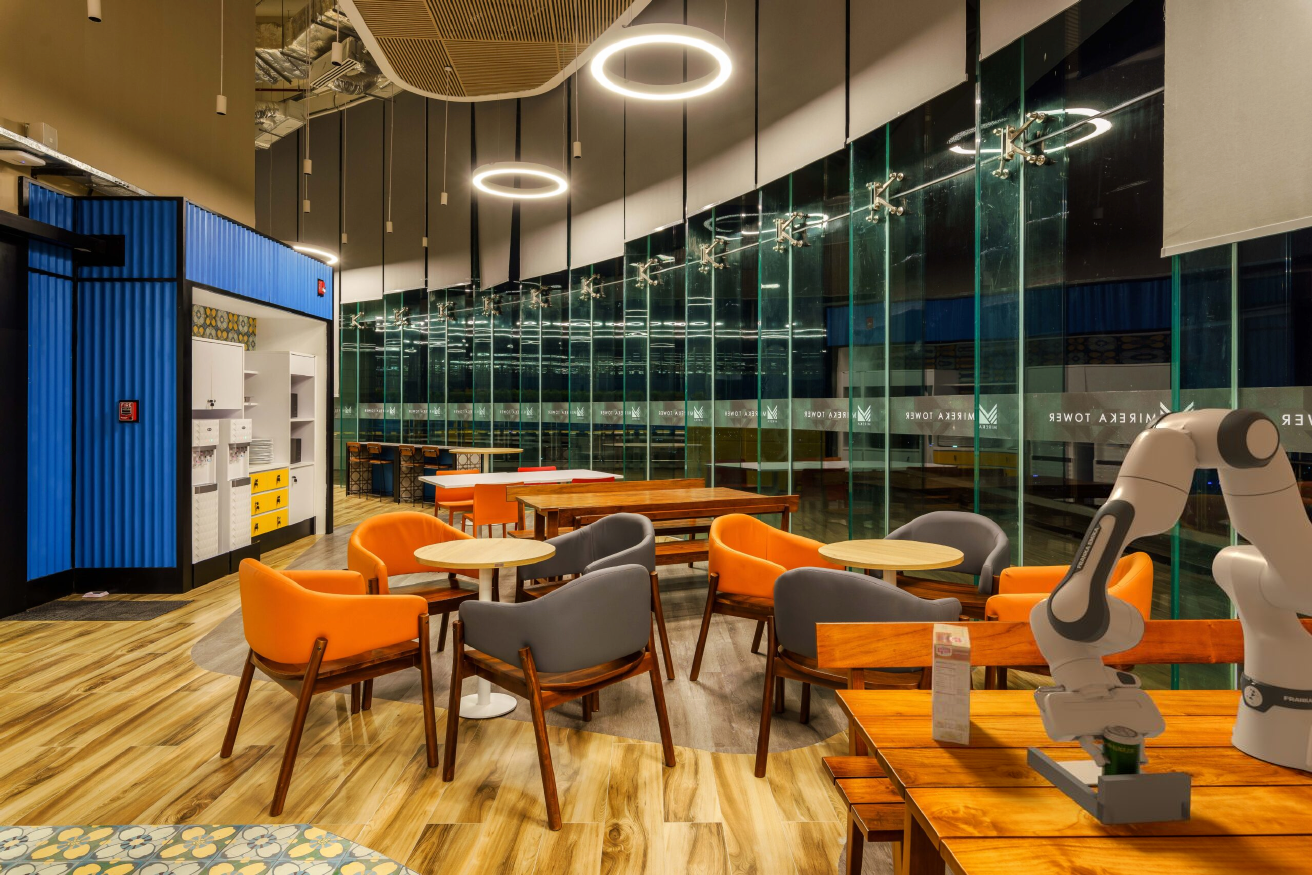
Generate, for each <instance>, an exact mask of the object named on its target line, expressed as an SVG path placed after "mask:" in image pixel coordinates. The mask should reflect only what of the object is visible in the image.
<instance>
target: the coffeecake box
mask: <svg viewBox="0 0 1312 875" xmlns="http://www.w3.org/2000/svg"><path fill="white" fill-rule="evenodd" d="M971 647H972V646H971V641H970V634H969V629H968V626H960V625H952V624H946V623H933V632H932V664H931V666H932V668H931V669H932V671H931V672H932V673H931V733H932V734H931V736H932V737H931V738H932V740H934V741H940V742H947V743H955V744H960V745H966V746H969V745H970V718H971V716H970V714H971V713H970V711H971V710H970V708H971V704H970V703H971V655H972V654H971V652H972V651H971V649H972V648H971Z"/></svg>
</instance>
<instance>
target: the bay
mask: <svg viewBox="0 0 1312 875" xmlns="http://www.w3.org/2000/svg"><path fill="white" fill-rule="evenodd" d="M1094 745H1095V746H1096V747H1097V748H1098V749H1099V750H1100V752H1101V753H1102V743H1101V744H1100V743H1099V744H1098V743H1097V744H1094ZM1092 759H1093V758H1092ZM1092 759H1091V760H1090V759H1089V760H1087V759H1086V760H1070V761H1069V760H1067V761H1066V760H1065V761H1064V760H1063V761H1055V760H1053V759H1052V758H1051V757H1050V756H1048V755H1047V754H1045V753H1044V752H1043V751H1041V750H1040V749H1038V748H1037V747H1036V746H1033V747H1032V746H1030V747H1028V746H1027V747H1026V764H1027V765H1028V766H1030V767H1031V768H1032V769H1033V770H1034V771H1036V772H1037V773H1038V774H1040V775H1041V776H1042V777H1043V778H1044V779H1046V780H1047V781H1048V782H1050V783H1051V784H1052V785H1054V787H1056V788H1057V789H1058V790H1060V791H1061V792H1062V793H1064V794H1065V795H1066V796H1067V795H1068V796H1067V797H1069V796H1070V797H1071V798H1072V799H1073V800H1072V799H1071V798H1070V797H1069V798H1070V799H1071V800H1072V801H1074V802H1075V803H1076V802H1077V803H1076V804H1078V805H1079V806H1080V807H1082V809H1083V810H1085V811H1087V812H1088V813H1089V814H1090V815H1091V816H1092V817H1094V818H1095V819H1097V820H1098V821H1099V822H1100V823H1102V824H1103V825H1116V824H1135V823H1139V824H1140V823H1154V822H1155V823H1157V822H1174V821H1175V822H1176V821H1190V820H1191V805H1192V803H1191V801H1192V799H1191V798H1192V776H1191V775H1190V774H1187V772H1184V771H1173V772H1155V773H1154V772H1151V773H1149V772H1148V773H1147V772H1146V771H1144V770H1143V769H1141V768H1140V774H1127V775H1105V776H1101V775H1102V767H1097V765H1096V763H1095V761H1094V759H1093V760H1092ZM1090 786H1097V791H1095V789H1093V788H1091V787H1090ZM1172 820H1174V821H1172Z"/></svg>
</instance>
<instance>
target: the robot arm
mask: <svg viewBox="0 0 1312 875" xmlns="http://www.w3.org/2000/svg"><path fill="white" fill-rule="evenodd" d="M1280 435H1281V434H1280V431H1279V428H1278V426H1277V425H1276V423H1275V421H1274V420H1272V418H1271V417H1269V415H1268V414H1266V413H1264V412H1263V411H1257V410H1254V409H1247V408H1237V409H1230V408H1229V409H1228V408H1203V409H1195V410H1194V409H1193V410H1186V411H1169V412H1165V413H1161V414H1159V415H1156V416H1154V417H1153V418H1151V420H1150V421H1149V422H1147V424H1146V426H1145V428H1144V430H1143V431H1142V432H1140V433H1139V434H1138V435H1137V436H1136V438H1135V439H1134V440H1133V441H1134V442H1133V443H1132V444H1131V446H1130V448H1129V450H1128V452H1127V453H1126V456H1125V458H1124V460H1123V462H1122V464H1121V467H1120V469H1119V472H1118V474H1117V478H1116V481H1115V483H1114V486H1113V489H1112V490H1111V492H1110V495H1109V497H1108V499H1107V501H1106V502H1105V503H1104V504H1103V505H1102V506H1101V507H1099V509H1098V510H1097V511H1096V513H1095V514H1094V515H1093V518H1092V520H1091V522H1090V524H1089V525H1088V528H1087V530H1086V532H1085V534H1084V536H1083V539H1082V541H1081V543H1080V545H1079V548H1078V549H1077V551H1076V552H1075V553H1076V554H1075V556H1074V558H1073V560H1072V563H1071V564H1070V567H1069V569H1068V571H1067V572H1066V573H1065V575H1064V577H1063V578H1062V579H1061V580H1060V582H1058V584H1057V585H1056V586H1055V588H1054V589H1053V590H1052V591H1051V593H1050V594H1049V596H1048V597H1046V598H1044V599H1042V600H1040V601H1039V602H1037V603H1036V604H1035V605H1034V606H1033V607H1032V609H1030V612H1029V624H1030V628H1031V631H1032V635H1033V637H1034V640H1035V642H1036V644H1037V647H1038V648H1039V651H1040V653H1041V655H1042V657H1043V658H1044V659H1045V660H1046V662H1047V664H1048V666H1049V671H1050V672H1049V673H1050V675H1051V677H1052V680H1053V682H1054V684H1055V685H1051V686H1050V685H1049V686H1045V685H1041V686H1038V687H1037V689H1035V690H1034V692H1033V699H1034V701H1035V703H1036V705H1037V707H1038V709H1039V714H1040V717H1041V721H1042V723H1043V727H1044V729H1045V730H1044V731H1045V733H1046V736H1047V737H1048V738H1049V739H1050V740H1052V742H1055V743H1059V742H1060V743H1061V742H1062V743H1063V742H1078V743H1079V746H1080V747H1081V749H1083V750H1084V751H1085V752H1086V753H1087V754H1088V755H1089V756H1090V757H1091V758H1092V759H1094V761H1095V763H1096V765H1097V767H1107V766H1108V765H1110V764H1111V763H1110V760H1109V759H1108V756H1107V754H1106V753H1101V752H1100V750H1099V749H1098V748H1097V747H1096V746H1095V745H1096V744H1094V743H1095V742H1096V741H1102V738H1103V732H1104V728H1105V726H1109V727H1116V726H1117V725H1118V726H1123V727H1127V728H1130V729H1132V730H1135V731H1136V732H1138V734H1139V738H1140V740H1141V746H1140V766H1145V765H1148V764H1149V759H1148V757H1147V755H1146V752H1145V750H1146V748H1145V747H1146V746H1145V745H1146V740H1145V739H1155V738H1157V737H1159V736H1160V735H1162V734H1163V733H1165V731H1166V728H1167V725H1166V722H1165V719H1164V717H1163V716H1162V713H1161V711H1160V710H1159V708H1158V706H1157V705H1156V703H1155V702H1154V700H1153V699H1152V698H1151V696H1150V695H1149V694H1148V693H1147V691H1145V690H1144V689H1141V688H1140V687H1141V686H1142V682H1141V679H1140V678H1139V677H1138V676H1137V675H1136V674H1135V673H1131V672H1126V671H1122V670H1120V669H1116V668H1113V667H1111V666H1106V665H1105V664H1104V662H1103V660H1102V657H1107V656H1112V655H1117V654H1119V653H1124V652H1127V651H1130V650H1133V649H1134V648H1136V647H1137V646H1138V645H1139V644H1140V643H1141V642H1142V640H1143V638H1144V634H1145V632H1146V631H1145V630H1146V623H1145V620H1144V616H1143V615H1142V613H1141V611H1140V610H1139V609H1138V608H1137V607H1136V606H1134V605H1133V604H1131V603H1129V602H1127V601H1125V600H1123V599H1121V598H1119V597H1117V596H1115V595H1112V594H1109V592H1108V591H1109V590H1108V588H1109V583H1110V582H1111V579H1112V577H1113V575H1114V573H1115V570H1116V568H1117V565H1118V563H1119V562H1120V559H1121V557H1122V554H1123V552H1124V550H1125V549H1126V547H1128V545H1129V544H1130V543H1131V542H1132V541H1134V540H1136V539H1138V538H1141V537H1150V536H1156V535H1159V534H1160V535H1161V534H1163V533H1165V532H1166V531H1169V530H1171V529H1172V528H1173V527H1175V525H1176V524H1177V522H1178V521H1179V519H1180V517H1181V516H1182V514H1183V512H1184V509H1185V507H1186V504H1187V500H1188V497H1189V493H1190V490H1191V488H1192V482H1193V478H1194V473H1195V470H1196V469H1201V470H1207V469H1208V470H1209V469H1217V473H1218V474H1217V475H1218V480H1219V483H1220V484H1219V485H1220V488H1221V492H1222V496H1223V499H1224V503H1225V506H1226V509H1227V513H1228V516H1229V520H1230V523H1231V525H1232V528H1234V530H1235V531H1236V533H1238V534H1239V535H1240V536H1241V537H1242V538H1244V539H1245V540H1247V541H1248V542H1250V543H1251V544H1248V545H1247V544H1246V545H1245V544H1242V545H1241V544H1240V545H1239V544H1236V545H1229V546H1226V547H1223V548H1222V549H1221V550H1219V552H1218V553H1217V554H1216V555H1215V557H1214V559H1213V562H1212V568H1211V571H1212V576H1213V578H1214V581H1215V583H1216V584H1217V585H1218V586H1219V587H1220V588H1221V589H1222V590H1223V591H1224V593H1226V595H1227V596H1228V597H1229V599H1230V601H1231V602H1232V604H1233V606H1234V609H1235V610H1236V611H1235V612H1237V615H1238V619H1239V620H1240V624H1241V627H1242V631H1243V639H1244V640H1243V645H1244V649H1243V650H1244V663H1243V664H1244V667H1243V668H1244V670H1243V671H1242V672H1241V675H1240V691H1241V696H1240V697H1239V703H1238V708H1237V715H1236V721H1235V725H1234V726H1232V730H1231V733H1232V735H1231V738H1230V743H1231V744H1232V745H1233V746H1234V747H1235V748H1237V749H1238V750H1240V751H1242V752H1243V753H1246V754H1248V755H1250V756H1253V757H1254V758H1257V759H1260V760H1263V761H1266V762H1269V763H1272V764H1275V765H1280V766H1284V767H1287V768H1288V767H1289V768H1293V769H1297V770H1298V769H1299V770H1304V771H1306V772H1310V773H1312V634H1311V633H1310V632H1309V631H1307V629H1306V628H1305V627H1304V626H1303V625H1302V622H1301V621H1300V620H1299V617H1298V616H1297V614H1301V615H1306V616H1309V617H1312V522H1311V521H1310V519H1309V516H1308V514H1307V511H1306V508H1305V506H1304V503H1303V500H1302V497H1301V494H1300V490H1299V487H1298V482H1297V480H1296V476H1295V473H1294V471H1293V467H1292V465H1291V462H1290V460H1289V457H1288V456H1287V453H1286V451H1285V450H1284V448H1283V445H1282V444H1281V438H1280V437H1281V436H1280ZM1109 727H1108V728H1109ZM1108 728H1107V729H1108Z"/></svg>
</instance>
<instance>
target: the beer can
mask: <svg viewBox="0 0 1312 875" xmlns="http://www.w3.org/2000/svg"><path fill="white" fill-rule="evenodd" d="M1108 727H1109V726H1105V728H1104V732H1103V738H1102V740H1101V742H1102V743H1101V744H1102V753H1106V754H1107V756H1108V759H1109V760H1110V763H1111V764H1110V765H1108V766H1107V767H1102V775H1101V776H1105V775H1127V774H1140V769H1141V765H1140V746H1141V740H1140V738H1139V734H1138V732H1136V731H1135V730H1132V729H1130V728H1127V727H1123V726H1118V725H1117V726H1116V727H1109V728H1108ZM1107 728H1108V729H1107Z"/></svg>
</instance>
